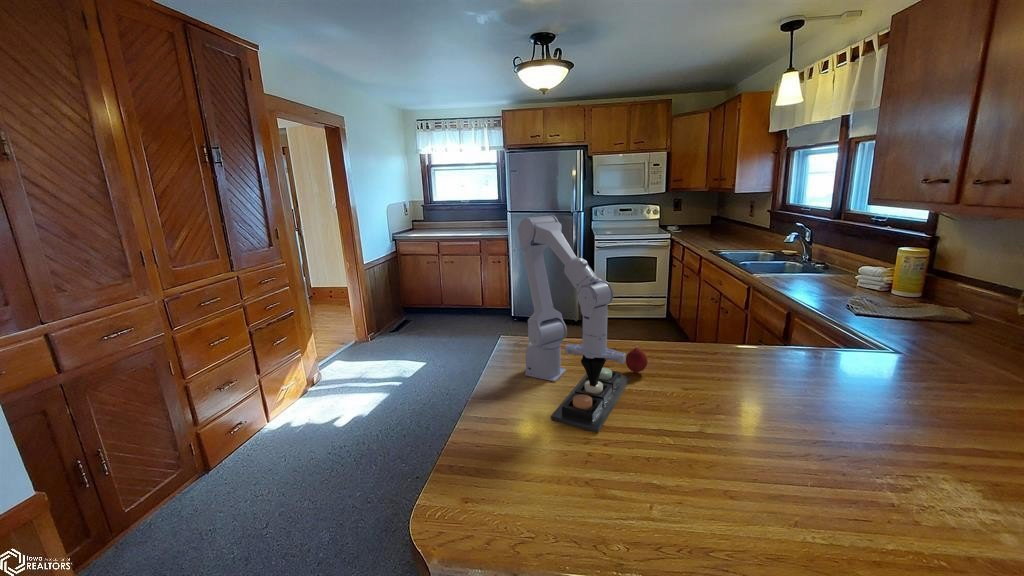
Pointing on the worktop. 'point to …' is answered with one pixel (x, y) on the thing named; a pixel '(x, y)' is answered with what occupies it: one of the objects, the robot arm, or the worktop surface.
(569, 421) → the tray
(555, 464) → the worktop surface
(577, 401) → the button terracotta
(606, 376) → the button sage
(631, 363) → the onion
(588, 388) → the button cream
